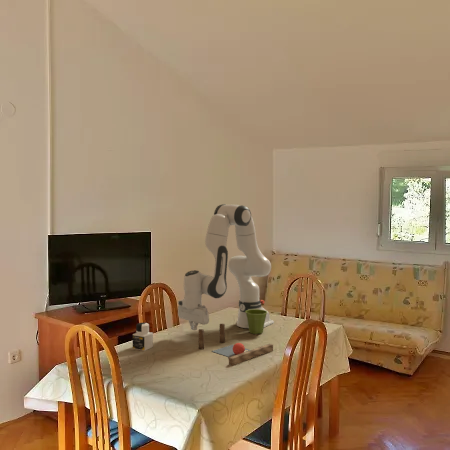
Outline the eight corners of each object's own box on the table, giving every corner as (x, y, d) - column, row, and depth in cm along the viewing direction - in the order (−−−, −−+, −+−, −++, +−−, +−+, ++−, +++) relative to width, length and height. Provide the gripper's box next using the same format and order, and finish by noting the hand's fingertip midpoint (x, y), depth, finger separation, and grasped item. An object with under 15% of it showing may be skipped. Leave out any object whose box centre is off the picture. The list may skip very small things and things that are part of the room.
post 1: (201, 347, 243) (201, 328, 242) (205, 348, 241) (205, 329, 240) (197, 348, 241) (197, 330, 240) (201, 349, 239) (201, 331, 238)
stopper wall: (269, 349, 238) (269, 343, 238) (273, 350, 237) (273, 344, 237) (228, 364, 218) (228, 357, 218) (232, 365, 217) (232, 358, 217)
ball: (238, 352, 235) (236, 340, 234) (247, 353, 231) (246, 341, 231) (231, 356, 230) (229, 344, 230) (240, 357, 227) (239, 345, 227)
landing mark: (232, 345, 246) (232, 344, 246) (253, 351, 236) (253, 350, 236) (211, 351, 236) (211, 351, 236) (233, 358, 226) (233, 358, 226)
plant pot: (268, 335, 262) (268, 314, 261) (245, 335, 262) (245, 314, 261) (266, 329, 274) (266, 309, 273) (245, 329, 274) (245, 309, 273)
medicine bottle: (132, 348, 241) (131, 324, 240) (141, 344, 247) (141, 320, 246) (144, 351, 237) (144, 326, 236) (153, 346, 244) (153, 322, 243)
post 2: (222, 340, 253) (222, 323, 252) (225, 342, 251) (225, 324, 250) (218, 342, 251) (218, 324, 250) (222, 343, 249) (222, 325, 249)
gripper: (211, 305, 249) (212, 332, 250) (185, 298, 263) (185, 324, 265) (202, 307, 244) (202, 335, 246) (175, 300, 259) (176, 327, 260)
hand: (193, 329), depth 255 cm, fingers closed
